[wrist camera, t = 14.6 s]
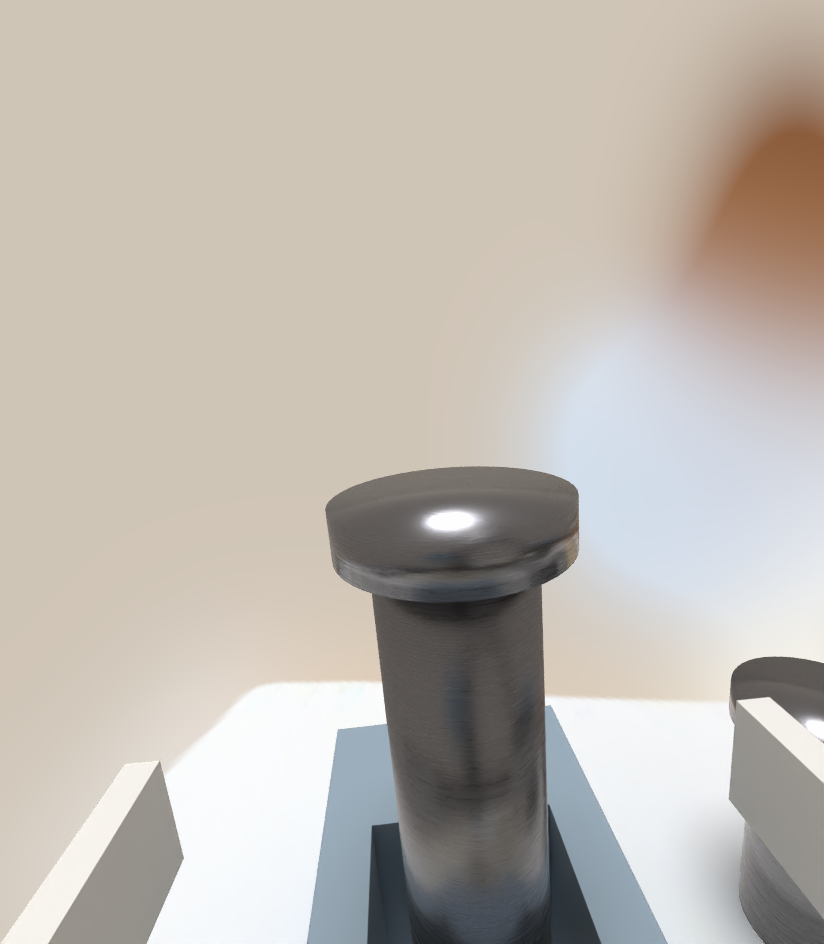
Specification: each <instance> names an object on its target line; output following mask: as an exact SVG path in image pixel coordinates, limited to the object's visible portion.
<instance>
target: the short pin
mask: <svg viewBox="0 0 824 944" xmlns="http://www.w3.org/2000/svg"><path fill="white" fill-rule="evenodd" d="M765 697H770V698H771V699H772V700H773V701H775V702H776V703H777V704H778V705H779V706H780V707H782V708H783V709H784V710H785V711H786V712H787V713H789V714H790V715H791V716H792V717H793V718H794V719H795V720H797V721H798V722H799V723H800V724H801V725H802V726H804V727H805V728H806V729H807V730H808V731H809V732H811V733H812V734H813V735H814V736H815V737H816V738H818V739H819V740H820V741H821V742H822V743H823V744H824V663H820V662H816V661H811V660H806V659H799V658H791V657H762V658H756V659H752V660H749V661H746V662H744V663H742V664H741V665H739V666H738V667H737V668H736V669H735V670H734V672H733V674H732V678H731V689H730V701H729V711H730V716H731V719H732V721H733V723H734V725H735V714H736V701H737V700H746V699H756V698H765ZM739 896H740V901H741V905H742V907H743V910H744V912H745V914H746V916H747V919H748V920H749V922H750V924H751V925H752V927H753V928H754V930H755V931H756V932H757V934H758V935H759V936H760V937H761V939H762V940H763V941H764V942H765V943H766V944H824V919H823V918H822V916H821V915H820V914H819V913H818V911H817V910H816V909H815V907H814V906H813V905H812V904H811V902H810V901H809V900H808V899H807V897H806V896H805V895H804V894H803V892H802V891H801V890H800V888H799V887H798V886H797V885H796V883H795V882H794V881H793V880H792V878H791V877H790V876H789V875H788V873H787V872H786V871H785V869H784V868H783V867H782V866H781V864H780V863H779V862H778V861H777V859H776V858H775V857H774V856H773V854H772V853H771V852H770V850H769V849H768V848H767V847H766V845H765V844H764V843H763V842H762V840H761V839H760V838H759V837H758V835H757V834H756V833H755V831H754V830H753V829H752V828H751V826H750V825H749V824H748V823H747V821H746V820H745V828H744V839H743V851H742V862H741V874H740V885H739Z"/></svg>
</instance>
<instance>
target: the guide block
mask: <svg viewBox="0 0 824 944" xmlns="http://www.w3.org/2000/svg"><path fill="white" fill-rule="evenodd" d="M545 730H546V766H547V802H548V837H549V873H550V909H551V944H667V942H666V940H665V937H664V935H663V933H662V931H661V929H660V927H659V925H658V923H657V921H656V919H655V917H654V915H653V913H652V911H651V909H650V907H649V905H648V903H647V901H646V899H645V897H644V895H643V893H642V891H641V889H640V887H639V884H638V882H637V880H636V878H635V876H634V874H633V872H632V870H631V868H630V866H629V864H628V862H627V860H626V858H625V856H624V854H623V852H622V850H621V848H620V846H619V844H618V842H617V840H616V838H615V836H614V833H613V831H612V829H611V827H610V825H609V823H608V821H607V819H606V817H605V815H604V813H603V811H602V809H601V807H600V805H599V803H598V801H597V799H596V797H595V795H594V793H593V791H592V789H591V787H590V785H589V782H588V780H587V778H586V776H585V774H584V772H583V770H582V768H581V766H580V764H579V762H578V760H577V758H576V756H575V754H574V752H573V750H572V748H571V746H570V744H569V742H568V740H567V738H566V736H565V734H564V731H563V729H562V727H561V725H560V723H559V721H558V719H557V717H556V715H555V713H554V711H553V709H552V707H551V705H550V706H545ZM307 944H413V942H412V934H411V925H410V917H409V908H408V899H407V891H406V882H405V874H404V865H403V856H402V848H401V839H400V831H399V822H398V813H397V805H396V796H395V788H394V779H393V770H392V762H391V753H390V745H389V736H388V727H387V724H383V725H374V726H366V727H357V728H348V729H339V730H338V732H337V739H336V746H335V753H334V760H333V767H332V774H331V780H330V787H329V794H328V801H327V808H326V815H325V822H324V829H323V836H322V843H321V850H320V856H319V863H318V870H317V877H316V884H315V891H314V898H313V905H312V912H311V919H310V926H309V933H308V939H307Z"/></svg>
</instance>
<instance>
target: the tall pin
mask: <svg viewBox="0 0 824 944" xmlns="http://www.w3.org/2000/svg"><path fill="white" fill-rule="evenodd" d="M578 495H579V494H578V491H577V489H576V488H575V486H574V485H573V484H571V483H570V482H568V481H566V480H564V479H562V478H559V477H557V476H554V475H550V474H547V473H543V472H538V471H533V470H526V469H518V468H506V467H451V468H439V469H428V470H420V471H413V472H407V473H401V474H396V475H391V476H386V477H383V478H378V479H374V480H371V481H368V482H364V483H362V484H359V485H356V486H353V487H351V488H349V489H347V490H345V491H343V492H341V493H339V494H338V495H336V496H335V497H333V498H332V499H331V500H330V501H329V502H328V504H327V506H326V509H325V511H326V518H327V525H328V533H329V540H330V548H331V556H332V562H333V567H334V569H335V571H336V572H337V574H338V575H339V576H340V577H341V578H342V579H344V580H345V581H346V582H348V583H349V584H351V585H353V586H355V587H357V588H359V589H361V590H364V591H367V592H370V593H372V598H373V607H374V615H375V624H376V632H377V641H378V650H379V659H380V666H381V676H382V684H383V693H384V702H385V710H386V719H387V727H388V736H389V745H390V753H391V762H392V770H393V779H394V788H395V796H396V805H397V813H398V822H399V831H400V839H401V848H402V856H403V865H404V874H405V882H406V891H407V899H408V908H409V917H410V925H411V934H412V942H413V944H551V909H550V873H549V837H548V802H547V766H546V730H545V694H544V660H543V624H542V588H541V584H544V583H546V582H548V581H550V580H552V579H554V578H555V577H557V576H559V575H560V574H562V573H563V572H564V571H566V570H567V569H568V568H569V567H570V566H571V565H572V564H573V563H574V561H575V560H576V558H577V555H578V551H579V504H578V503H579V500H578V499H579V497H578Z"/></svg>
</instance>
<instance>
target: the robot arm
mask: <svg viewBox="0 0 824 944" xmlns="http://www.w3.org/2000/svg"><path fill="white" fill-rule="evenodd" d="M729 800H730V801H731V802H732V804H733V805H734V806H735V807H736V809H737V810H738V811H739V812H740V814H741V815H742V816H743V818H744V819H745V820H746V821H747V823H748V824H749V825H750V826H751V828H752V829H753V830H754V831H755V833H756V834H757V835H758V837H759V838H760V839H761V840H762V842H763V843H764V844H765V845H766V847H767V848H768V849H769V850H770V852H771V853H772V854H773V856H774V857H775V858H776V859H777V861H778V862H779V863H780V864H781V866H782V867H783V868H784V869H785V871H786V872H787V873H788V875H789V876H790V877H791V878H792V880H793V881H794V882H795V883H796V885H797V886H798V887H799V888H800V890H801V891H802V892H803V894H804V895H805V896H806V897H807V899H808V900H809V901H810V902H811V904H812V905H813V906H814V907H815V909H816V910H817V911H818V913H819V914H820V915H821V916H822V918H823V919H824V744H823V743H822V742H821V741H820V740H819V739H818V738H816V737H815V736H814V735H813V734H812V733H811V732H809V731H808V730H807V729H806V728H805V727H804V726H802V725H801V724H800V723H799V722H798V721H797V720H795V719H794V718H793V717H792V716H791V715H790V714H789V713H787V712H786V711H785V710H784V709H783V708H782V707H780V706H779V705H778V704H777V703H776V702H775V701H773V700H772V699H771V698H770V697H765V698H756V699H746V700H737V701H736V714H735V727H734V740H733V753H732V766H731V779H730V792H729ZM183 859H184V857H183V853H182V849H181V845H180V841H179V837H178V833H177V829H176V825H175V820H174V816H173V812H172V808H171V804H170V800H169V796H168V792H167V788H166V784H165V780H164V776H163V772H162V768H161V764H160V761H150V762H141V763H130V764H125V765H124V767H123V768H122V769H121V771H120V772H119V774H118V775H117V777H116V778H115V779H114V781H113V783H112V784H111V785H110V787H109V788H108V790H107V791H106V792H105V794H104V795H103V797H102V798H101V800H100V801H99V803H98V804H97V806H96V807H95V808H94V810H93V811H92V813H91V814H90V816H89V817H88V818H87V820H86V821H85V823H84V824H83V826H82V827H81V828H80V830H79V831H78V833H77V834H76V836H75V837H74V839H73V840H72V842H71V843H70V844H69V846H68V847H67V849H66V850H65V852H64V853H63V855H62V856H61V857H60V859H59V860H58V862H57V863H56V865H55V866H54V868H53V869H52V870H51V872H50V873H49V875H48V876H47V878H46V879H45V880H44V882H43V883H42V885H41V886H40V888H39V889H38V890H37V892H36V893H35V895H34V896H33V898H32V899H31V901H30V902H29V903H28V905H27V906H26V908H25V909H24V911H23V912H22V914H21V915H20V917H19V918H18V919H17V921H16V922H15V924H14V925H13V927H12V928H11V929H10V931H9V932H8V934H7V935H6V937H5V938H4V939H3V941H2V942H1V944H146V943H147V941H148V939H149V936H150V934H151V932H152V929H153V927H154V925H155V923H156V920H157V918H158V916H159V913H160V911H161V909H162V907H163V904H164V902H165V900H166V897H167V895H168V893H169V891H170V888H171V886H172V884H173V881H174V879H175V877H176V875H177V872H178V870H179V868H180V865H181V863H182V861H183Z"/></svg>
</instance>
